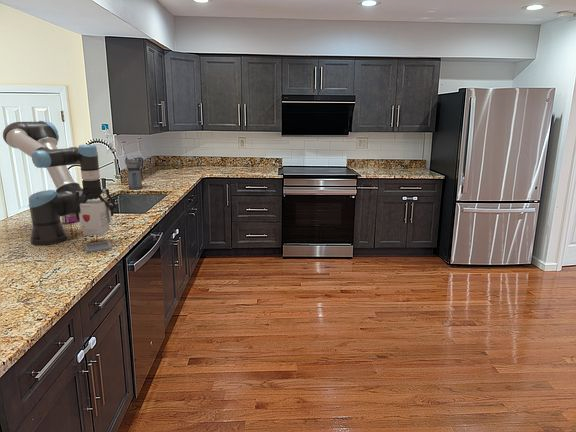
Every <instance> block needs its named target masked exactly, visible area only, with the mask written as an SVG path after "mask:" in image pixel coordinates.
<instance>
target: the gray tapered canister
mask: <svg viewBox="0 0 576 432" xmlns="http://www.w3.org/2000/svg"><path fill="white" fill-rule="evenodd" d="M124 163H125V165H126V169H127V170H126V173H127V180H128V181H127V182H128V189H129V190H134V191H135V190H140V189H142V188H143V182H142V181H144V178H143V170H144V168H143V167H144V158H143V157H141V156H138V157H136V158H135V157H133V158H132V159H131V158H130V159H128V157H127V156H126V157H125V158H124Z"/></svg>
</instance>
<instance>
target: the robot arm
mask: <svg viewBox="0 0 576 432" xmlns="http://www.w3.org/2000/svg"><path fill="white" fill-rule="evenodd" d="M59 138H60V137H59V132H58V128H56V126H55V124H53V123H52V122H50V121H44V120H39V121H16V122H12V123H9V124H8V125H7V126H5V127H4V129H3V132H2V139H3V141H4V142H5V143H6V144H7V145H8V146H9V147H10V148H13V149H18V150H19V151H21V152H23V153H24V154H26V155H27V156H29V157H30V158H31V161H32V163H33V165H34V166H35V167H36V168H38V169H43V168H44V169H46V170H47V171H48V174H49V176H50V178H51V179H52V180H51V181H52V182H53V184H54V186H55V188H56V189H47V190H41V191H37V192H35V193H34V192H33V193H32V194H31V195H30V196H29V197H28V207H29V211H30V217H31V224H32V228H31V233H30V243H31V245H35V246H47V245H54V244H58V243H59V244H60V243H61V242H64V241H66V240H67V239H68V234H67V232H66V230H65V228H64V225H63V224H62V219H61V218H62V217H61V216H66V215H71V214H76V219H77V220H79V221H78V222H79V226H80V228H82V219H81V211H80V204H83V203H86V201H88V200H101V201H102V202H105V205H106V206H107V207H108V215H109V225H110V224H112V222H113V221H112V217H114V209H117V204H116V203H115V201H114V199H113V198H112V196H111V194H110V191H109V188H107V187H105V188H103V189H102V184H101V179H100V176H101V175H100V167H99V154H98V150H97V149H98V148H97V145H95V144H80V145H78V146H74V147H73V146H70V147H68V148H58V146H57V145H58V142H59ZM73 165H79V167H80V175H81V179H82V180H81V182H82V184H81V185H82V187H81V185H80V184H79V183H78V182H75V181H74V178H73V175H71V172H70V170H69V168H68V167H67V166H73ZM102 193H104V195H105V194H106V196H107V198H108V200H109V201H110V203H111V205H110V203H109V202H108V201H107V202H106V201H105V200H106V199H105V198H104V197H103V196H102Z"/></svg>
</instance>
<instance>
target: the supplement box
mask: <svg viewBox="0 0 576 432" xmlns="http://www.w3.org/2000/svg"><path fill="white" fill-rule="evenodd" d="M104 200H105V201H106V202H108V200H106V199H104ZM108 209H109V208H108V207H107V206H106V205H105V202H102V201H101V200H100V199H92V200H88V201H86V203H83V204H80V211H81V219H82V227H81V228H82V235H84V236H100V237H101V236H104V234H106V233H108V232H109V231H110V230H111V227H110V223H109V215H108Z"/></svg>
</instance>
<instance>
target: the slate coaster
mask: <svg viewBox="0 0 576 432" xmlns="http://www.w3.org/2000/svg"><path fill="white" fill-rule="evenodd" d="M84 248H85V251H87V252H86V254H87V253H90V254H92V253H91V252H96V253H98V252H97V251H102V252H104V251H103V250H109V249H112V250H113V248H112V245H111V243H110V241H109V240H105V241H103V240H102V241H98V242H91V243H85V244H84ZM109 251H110V250H109Z"/></svg>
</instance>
